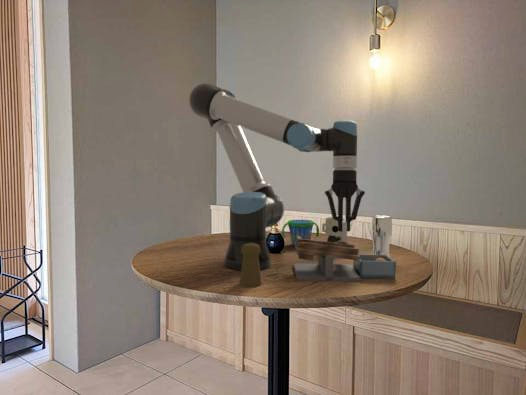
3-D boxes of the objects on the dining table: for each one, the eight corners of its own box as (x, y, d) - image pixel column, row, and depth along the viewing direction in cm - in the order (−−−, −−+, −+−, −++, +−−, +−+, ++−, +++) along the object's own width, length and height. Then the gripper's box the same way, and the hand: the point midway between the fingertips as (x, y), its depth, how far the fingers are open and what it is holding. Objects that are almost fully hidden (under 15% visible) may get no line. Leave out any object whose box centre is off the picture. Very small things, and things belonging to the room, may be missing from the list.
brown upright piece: (261, 280, 111) (261, 241, 110) (261, 286, 105) (262, 246, 104) (239, 280, 111) (240, 241, 110) (239, 286, 105) (239, 245, 104)
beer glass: (392, 261, 137) (393, 218, 136) (371, 260, 139) (372, 217, 137) (389, 256, 144) (391, 216, 143) (370, 255, 145) (371, 215, 144)
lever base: (297, 280, 112) (297, 255, 111) (293, 266, 128) (294, 245, 127) (360, 281, 112) (361, 256, 111) (349, 267, 127) (350, 245, 127)
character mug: (326, 254, 146) (327, 219, 145) (317, 251, 153) (317, 217, 152) (351, 252, 150) (352, 218, 149) (341, 249, 157) (342, 216, 156)
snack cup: (283, 248, 158) (284, 222, 157) (279, 243, 168) (280, 219, 167) (322, 247, 159) (322, 222, 158) (315, 243, 170) (316, 219, 169)
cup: (359, 278, 115) (360, 261, 115) (353, 270, 124) (353, 254, 124) (395, 278, 115) (395, 261, 114) (385, 270, 124) (386, 254, 124)
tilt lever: (296, 260, 113) (298, 240, 113) (292, 246, 133) (294, 230, 133) (358, 267, 113) (361, 248, 113) (345, 252, 133) (347, 236, 133)
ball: (385, 275, 117) (373, 268, 117) (381, 271, 121) (370, 265, 121) (392, 263, 117) (380, 257, 117) (388, 260, 121) (376, 254, 121)
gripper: (326, 169, 125) (325, 243, 126) (367, 169, 124) (366, 243, 126) (323, 169, 132) (322, 239, 134) (362, 169, 132) (361, 239, 133)
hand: (343, 241), depth 130 cm, fingers closed
